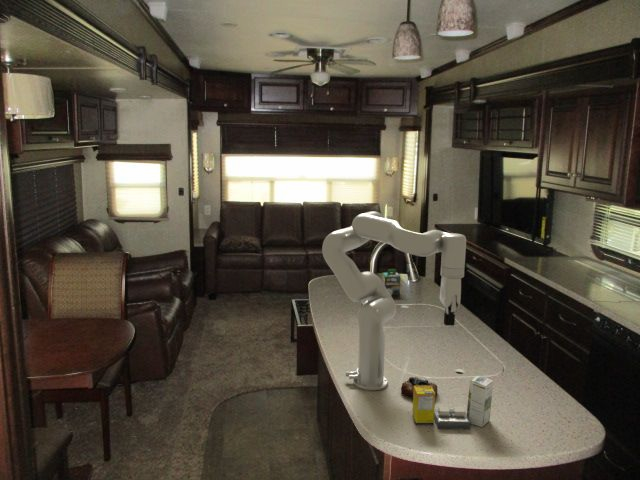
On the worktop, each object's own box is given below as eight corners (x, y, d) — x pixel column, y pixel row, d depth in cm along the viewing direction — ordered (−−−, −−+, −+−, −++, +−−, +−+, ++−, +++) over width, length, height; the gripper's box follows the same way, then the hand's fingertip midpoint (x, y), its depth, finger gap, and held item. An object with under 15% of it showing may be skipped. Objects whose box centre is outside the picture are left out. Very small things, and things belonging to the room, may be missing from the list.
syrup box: (473, 415, 183) (476, 374, 180) (490, 421, 180) (493, 379, 177) (465, 421, 179) (468, 380, 176) (483, 428, 175) (486, 386, 172)
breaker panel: (437, 428, 175) (438, 420, 174) (433, 415, 182) (433, 408, 182) (469, 429, 174) (470, 421, 174) (463, 416, 182) (464, 409, 182)
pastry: (412, 384, 205) (413, 369, 204) (441, 394, 198) (442, 379, 197) (397, 395, 197) (397, 379, 196) (427, 405, 190) (428, 390, 188)
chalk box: (396, 291, 323) (398, 266, 320) (400, 295, 314) (401, 270, 311) (381, 291, 322) (382, 266, 319) (384, 295, 313) (385, 270, 310)
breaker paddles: (438, 415, 178) (439, 411, 177) (437, 410, 179) (438, 406, 178) (464, 415, 178) (465, 411, 177) (463, 411, 179) (464, 407, 178)
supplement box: (429, 415, 183) (431, 385, 180) (433, 425, 177) (435, 393, 175) (411, 415, 182) (413, 385, 180) (415, 425, 177) (417, 393, 174)
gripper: (436, 265, 188) (433, 316, 192) (445, 277, 173) (442, 332, 177) (458, 266, 188) (454, 317, 191) (469, 277, 173) (465, 332, 177)
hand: (449, 324), depth 184 cm, fingers closed
